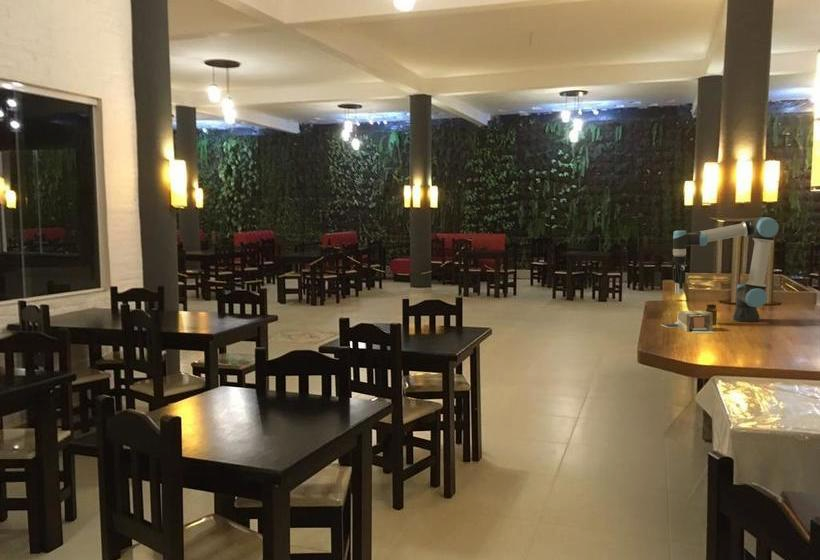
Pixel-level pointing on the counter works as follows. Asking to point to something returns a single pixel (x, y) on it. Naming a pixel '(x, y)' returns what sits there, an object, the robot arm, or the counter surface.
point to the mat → (702, 332)
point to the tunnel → (684, 315)
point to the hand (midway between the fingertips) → (678, 293)
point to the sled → (695, 323)
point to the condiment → (713, 310)
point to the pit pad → (671, 325)
